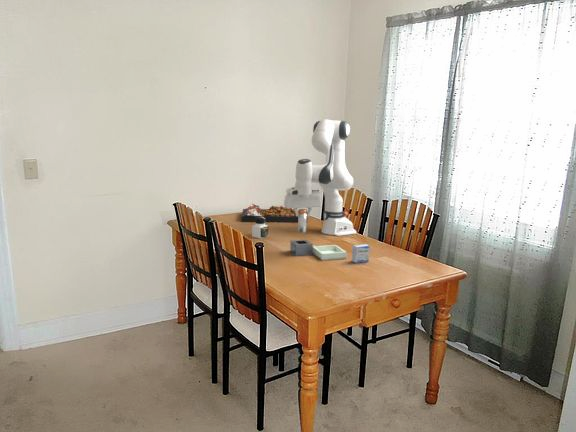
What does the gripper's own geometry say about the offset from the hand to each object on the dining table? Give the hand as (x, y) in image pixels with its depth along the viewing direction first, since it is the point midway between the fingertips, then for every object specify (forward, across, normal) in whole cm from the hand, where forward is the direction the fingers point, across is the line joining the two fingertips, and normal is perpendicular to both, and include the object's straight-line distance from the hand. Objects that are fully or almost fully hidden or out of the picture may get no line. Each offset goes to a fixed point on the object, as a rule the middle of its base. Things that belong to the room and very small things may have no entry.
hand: (302, 215), depth 255 cm
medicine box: (+21, -25, +21) cm, 39 cm away
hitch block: (+21, 0, 0) cm, 21 cm away
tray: (+21, -13, +8) cm, 26 cm away
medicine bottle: (+21, +13, -37) cm, 44 cm away
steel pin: (+9, 0, 0) cm, 9 cm away
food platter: (+22, -10, -82) cm, 86 cm away
